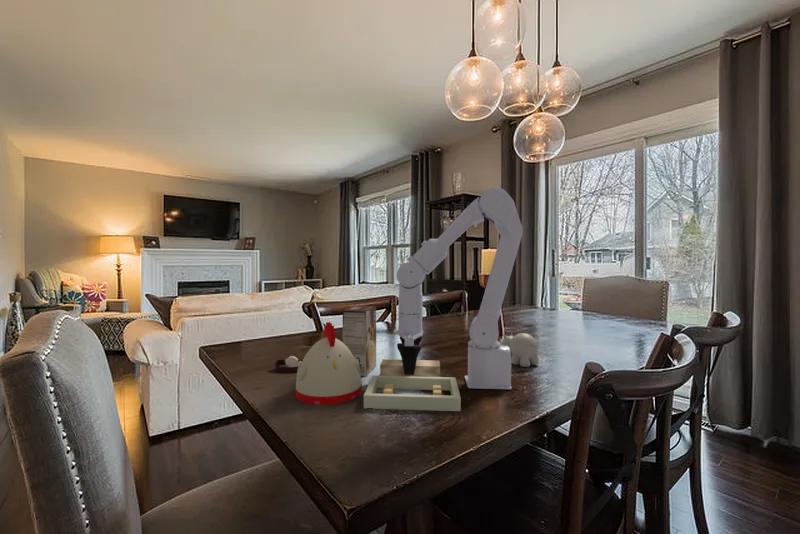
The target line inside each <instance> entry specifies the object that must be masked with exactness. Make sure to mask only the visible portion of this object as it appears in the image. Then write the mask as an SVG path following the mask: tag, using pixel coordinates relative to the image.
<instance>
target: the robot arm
mask: <svg viewBox="0 0 800 534" xmlns="http://www.w3.org/2000/svg"><path fill="white" fill-rule="evenodd" d="M485 218H486V219H487V220H488V221H489V222H490V223H492V224H493V225H494V227H495V229H496V230H497V232H498V234H499V235H500V237H499V240H498V245H497V247H496V251H495V253H494V258H493V262H492V266H491V269H490V272H489V276H488V279H487V283H486V285H485V289H484V292H483V293H484V294H483V297H482V301H481V303H480V307H479V310H478V313H477V314H476V315H475V316H474V317H473V319H472V320H471V325H470V327H469V330H468V332H469V333H468V334H469V338H470V340H469V341H468V342H467V344H468V345H467V375H464V380H465V384H466V386H467V388H468V389H480V390H481V389H483V390H512V363H511V358H512V352H511V351H510V349H509V347H508V346H502V345H500V341H498V339H499V336H500V335H499V333H500V332H499V324H498V323H499V319H500V315H501V311H502V306H503V302H504V300H505V295H506V292H507V290H508V289H507V288H508V285H509V281H510V278H511V275H512V272H513V267H514V265H515V261H516V257H517V254H518V250H519V247H520V244H521V241H522V236H523V234H524V228H523V226H522V223H521V220H520V217H519V214H518V210H517V208H516V204H515V201H514V199H513V198H512V197H511V195H510V194H509V193H508V192H507V191H506V190H505V189H503V188H501V187H498V186H496V187H495V186H494V187H489V188H488V189H485V191H484V192H483V193H482V194H481V196H480V197H477V198H475V199H474V200H473V201H471V203H469V205H468V206H467V207H466V208H464V209H463V210H462V212H461V213H460V214H459V215H458V216H457V217H456V218H455V219H454V220H453V221H452V222H451V224H449V226H448V227H447V228H446V229H445V230H444V231H443V232H442V234H440V235H439V236H438V238H429V239H428V240H423V241H422V243H420V245H421V247H420V248H419V249H417V251H416V252H415V253H414V254H413V256H411V255H410V256H409V257H407V261H408V262H407V261H406V262H403V263H401V264H400V266H399V268H398V269H397V271H396V280H397V282H398V283H399V286H398V292H399V293H398V330H397V329H394V330H393V335H395V336H396V335H397V336H399V339H400V342H401V343H400V342H398V343H397V344H396V348H397V350H398V352H399V354H400V357H401V360H402V362H403V369H404V373H405V375H414V372H415V367H416V361H417V360H418V356H419V354H420V351H421V350H422V348H423V345H422V344H421V341H422V340H423V335H424V331H423V304H424V303H423V298H424V297H423V295H424V294H423V282H424V281H425V279H426V275H430V273H432V271H434V270H435V269H436V268H437V266H439V265H440V264H441V262H442V261H444V260H445V259H446V258H447V256H448V248H449V247H450V246H451V245H453V243H454V242H456V240H457V239H459V237H460V236H462V235H463V233H465V232H466V231H467V230H468V229H469V228H471V227H472V226H473V225H476V224H477V225H478V224H481V223H484V222H485Z"/></svg>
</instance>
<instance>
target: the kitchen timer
mask: <svg viewBox="0 0 800 534" xmlns="http://www.w3.org/2000/svg"><path fill="white" fill-rule="evenodd" d="M323 327H324V330H322V335H323V337H322V338H321V339H319V340H318V341H316V342H315V343H314V344H313V345H312V346H311V347H309V348H310V349H309V350H308V351H307V352H306V354H305V355H304V358H303V359H302V361H299V365H298V371H297V372H296V381H295V398H296V399H297V400H298V401H300V402H302V403H306V404H309V405H317V406H319V405H320V406H323V405H325V406H326V404H330V405H337V404H336V403H338V404H343V403H346V401H347V402H350V401H353V400H355V399H357V398H359V396H360V395H362V389H363V387H362V386H363V385H362V376H360V373H361V371H360V365H359V359H356V360H355V358H354V356H353V355H352V353H351V351H350V350H349V349H348V347H347V346H346V345H345V344H344V343H343V341H341V340H340V339H338V338H336V336H337V332H335V325H333V323H331V321H329V322H328V321H327V322H325V325H324V326H323ZM356 397H357V398H356ZM354 398H355V399H354ZM352 399H353V400H352ZM349 400H350V401H349ZM342 402H343V403H342Z"/></svg>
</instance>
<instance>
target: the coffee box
mask: <svg viewBox="0 0 800 534" xmlns="http://www.w3.org/2000/svg"><path fill="white" fill-rule="evenodd" d="M342 342H343V343H344V344H345V345H346V346H347V347H348V349H349V350H350V351H351V353H352V355H353V356H354V358H355V360H356V359H359V365H360V371H361V373H360V376H361V377H368V375H369V374H370V373H371V372H372V371H373V370H374V369H375V368H376V367H377V306H373V305H371V306H368V305H353V306H350V307H348V308H346V309H343V310H342Z"/></svg>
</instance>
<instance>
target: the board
mask: <svg viewBox="0 0 800 534" xmlns="http://www.w3.org/2000/svg"><path fill="white" fill-rule="evenodd" d="M380 362H381V363H380V364H379V376H417V377H441V363H440V360H434V359H433V360H431V359H430V360H428V359H426V360H425V359H417V361H416V367H415V372H414V375H405V373H404V369H403V362H402V359H390V358H383V359H382V360H381V361H380Z"/></svg>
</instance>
